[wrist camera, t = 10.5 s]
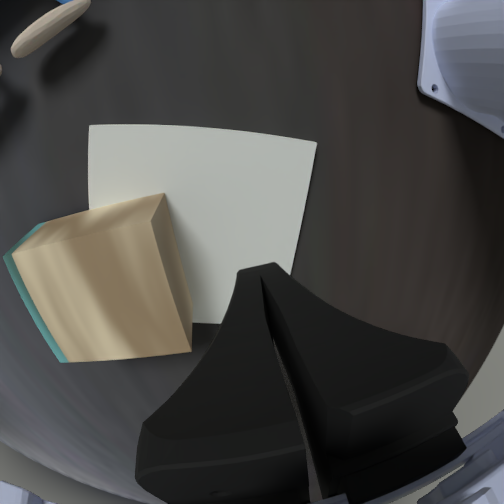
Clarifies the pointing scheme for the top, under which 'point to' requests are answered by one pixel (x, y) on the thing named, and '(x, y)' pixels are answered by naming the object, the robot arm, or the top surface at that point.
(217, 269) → the mat
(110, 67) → the top surface
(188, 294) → the teal block wooden top
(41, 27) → the toy
